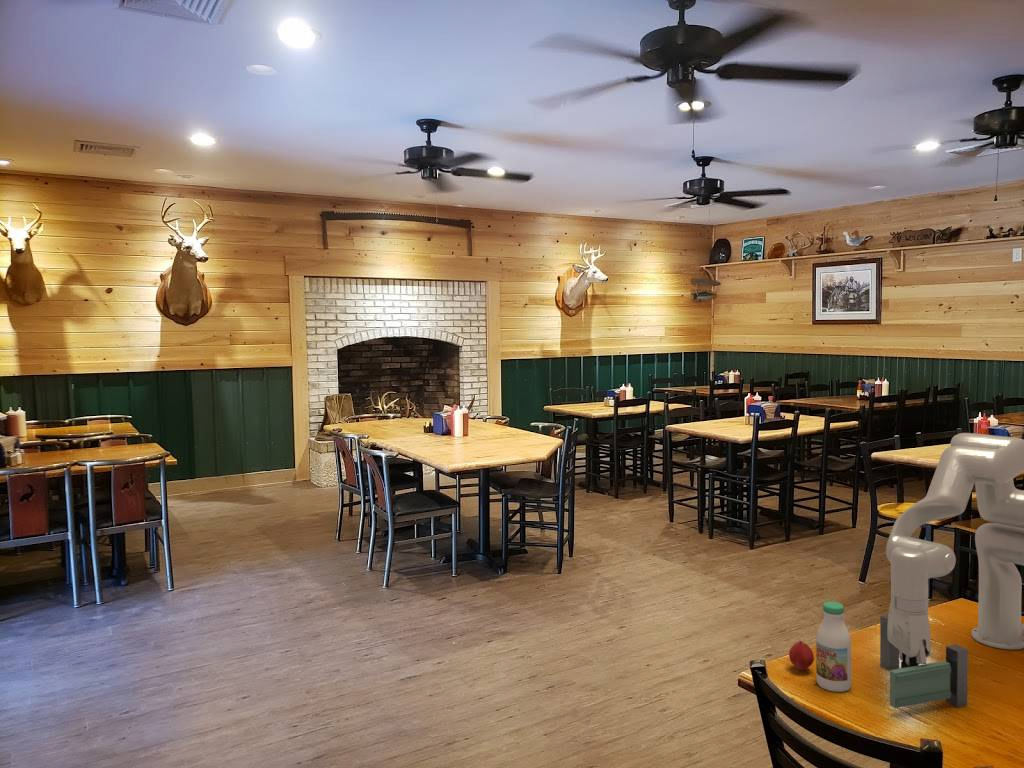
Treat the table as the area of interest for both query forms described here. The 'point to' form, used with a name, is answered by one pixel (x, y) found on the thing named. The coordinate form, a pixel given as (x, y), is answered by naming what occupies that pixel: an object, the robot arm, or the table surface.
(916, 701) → the gate
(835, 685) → the milk bottle
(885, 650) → the gate posts
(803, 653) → the onion
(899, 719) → the table surface
